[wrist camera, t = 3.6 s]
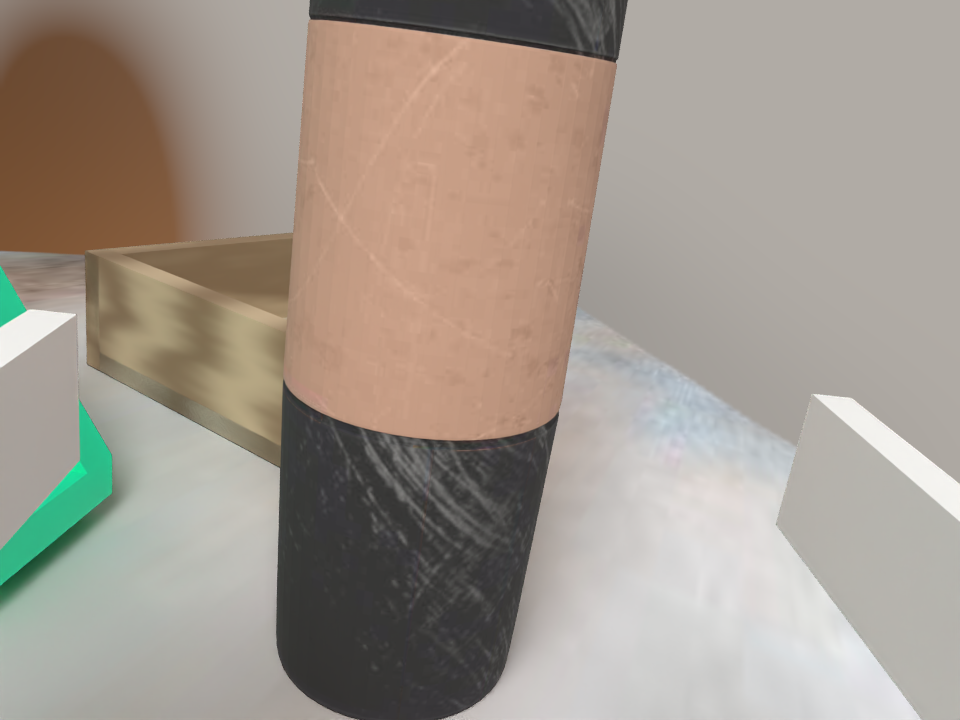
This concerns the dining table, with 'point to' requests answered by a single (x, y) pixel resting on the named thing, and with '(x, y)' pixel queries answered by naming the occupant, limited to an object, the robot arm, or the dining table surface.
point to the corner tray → (197, 330)
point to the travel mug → (429, 333)
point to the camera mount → (72, 493)
